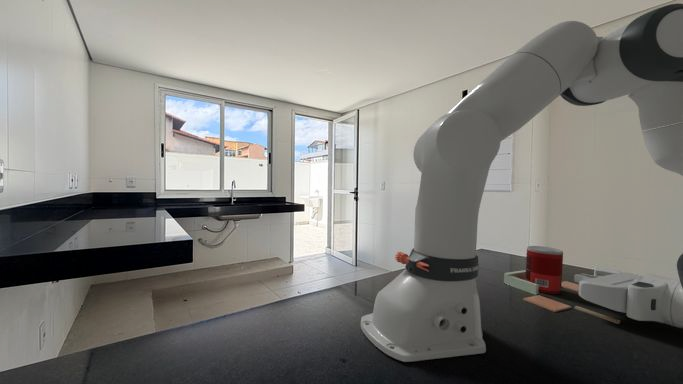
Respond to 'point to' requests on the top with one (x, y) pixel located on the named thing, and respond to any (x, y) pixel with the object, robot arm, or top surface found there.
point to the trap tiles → (550, 303)
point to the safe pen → (520, 281)
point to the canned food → (544, 268)
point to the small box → (604, 271)
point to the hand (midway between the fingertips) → (577, 277)
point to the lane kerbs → (597, 314)
